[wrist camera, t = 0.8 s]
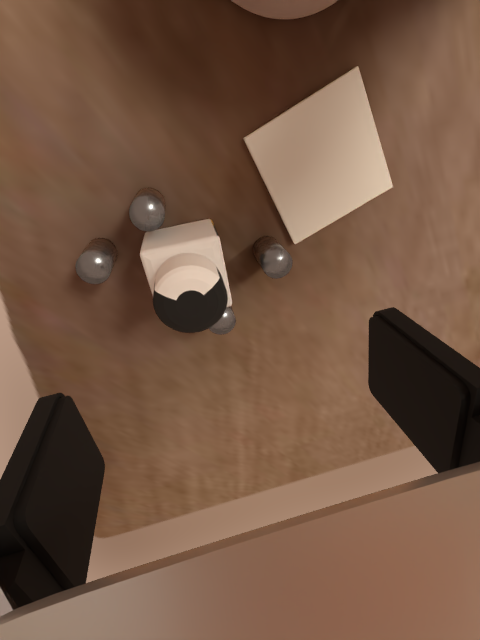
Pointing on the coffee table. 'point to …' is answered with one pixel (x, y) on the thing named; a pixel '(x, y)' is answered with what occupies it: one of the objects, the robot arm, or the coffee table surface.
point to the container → (284, 7)
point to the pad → (321, 157)
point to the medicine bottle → (186, 275)
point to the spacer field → (150, 217)
